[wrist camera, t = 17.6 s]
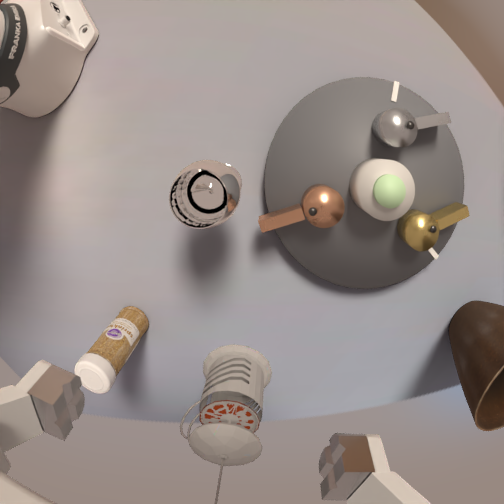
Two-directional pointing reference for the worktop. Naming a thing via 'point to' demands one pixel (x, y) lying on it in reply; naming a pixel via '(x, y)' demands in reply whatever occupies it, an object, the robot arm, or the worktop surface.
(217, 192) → the wineglass
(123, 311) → the sprinkles bottle
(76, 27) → the robot arm
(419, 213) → the knob brass
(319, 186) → the knob copper
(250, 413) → the vented spool lamp
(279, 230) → the tribrach
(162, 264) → the worktop surface
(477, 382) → the plant pot
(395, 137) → the knob steel
